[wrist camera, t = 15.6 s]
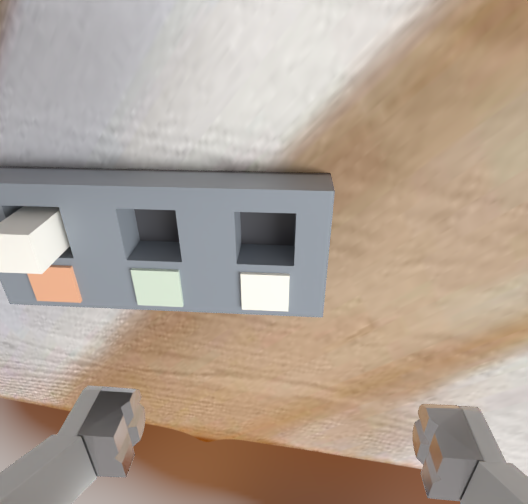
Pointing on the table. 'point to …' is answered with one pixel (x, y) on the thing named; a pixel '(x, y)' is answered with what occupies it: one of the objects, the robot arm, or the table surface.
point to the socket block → (178, 239)
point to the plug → (32, 240)
